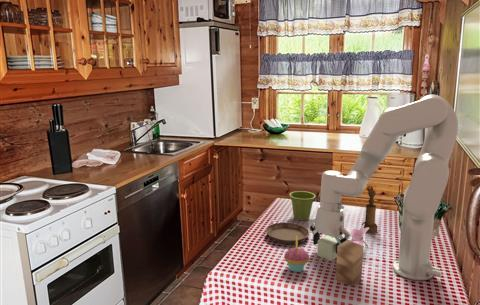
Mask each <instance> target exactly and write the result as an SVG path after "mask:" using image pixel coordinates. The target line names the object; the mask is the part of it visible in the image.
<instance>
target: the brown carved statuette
mask: <svg viewBox="0 0 480 305" xmlns="http://www.w3.org/2000/svg"><path fill="white" fill-rule="evenodd" d="M376 194H377V192H376V191H375V190H374V189H369V190H368V192H367V195H368V197H369V199H368V204H366V205H365V206H366V207H365V216H364V217H365V218H364V221H363V222H362V223H361V226H362V225H363V224H364V223H365V224H364V228H369V229H368V230H367V231H366V233H368V234H374V233H375V234H376V233H377V232H378V229H379V228H378V227H379V226H378V224H377V223H375V222H376V212H377V211H376V210H377V205H375V204H374V203H375V200H374V198H375V197H376Z"/></svg>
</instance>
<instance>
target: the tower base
mask: <svg viewBox="0 0 480 305" xmlns="http://www.w3.org/2000/svg"><path fill="white" fill-rule="evenodd" d="M335 267H336V270H335V280H336V281H338V282H341V283H343V284H345V285H347V286H351V287H353V286H355V285H356V284H357V283H358V282H360V281H361V280H362V274H363V263H361V264H360V265H359V266H357V267H356V268H354V269H351V268H349V267H346V266H344V265H341V264H338V263H337V262H336V266H335Z"/></svg>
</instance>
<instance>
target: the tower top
mask: <svg viewBox="0 0 480 305" xmlns="http://www.w3.org/2000/svg"><path fill="white" fill-rule="evenodd" d="M364 247H365V246H364V244H363V245H360V244H358V243H354V242H351V241H350V240H349V239H348V240H346V241H345V242H343V243H341V244H340V245H338V246H337V257H336V264H337V263H338V264H341V265H344V266H346V267H349V268H351V269H354V268H356V267H357V266H359V265H360V264H361V263H362V264H363V263H364V262H363V260H364V249H365V248H364Z"/></svg>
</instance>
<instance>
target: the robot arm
mask: <svg viewBox="0 0 480 305" xmlns="http://www.w3.org/2000/svg"><path fill="white" fill-rule="evenodd" d="M423 129H427V130H426V134H425V137H424V141H423V144H422V145H421V146H422V147H421V150H420V152H419V154H418V157H417V158H416V161H415V163H414V170H413V174H412V175H411V179H410V182H409V184H408V185H407V187H406V188H405V190H404V194H403V203H402V204H403V205H402V216H401V229H400V239H399V241H400V242H399V252H398V260H396V261H394V262H393V265H392V269H393V271H394V272H395V273H396V274H397V275H399V276H400V277H403V278H406V279H408V280H412V281H413V280H414V281H427V280H430V279H431V278H433V276H434V277H437V278H441V277H442V274H443V272H442V271H441V268H440V267H436V266H434V265H433V260H430V258H431V257H430V256H431V249H432V248H431V246H432V240H433V239H432V238H433V232H434V223H435V222H434V221H435V214H436V212H437V210H438V208H439V205H440V203H441V201H442V198H443V195H444V192H445V190H446V187H447V184H448V181H449V177H450V168H449V162H450V159H451V155H452V153H453V151H454V150H453V149H454V146H455V143H456V140H457V136H458V132H459V122H458V117H457V113H456V111H455V109H454V108H453V107H452V105H451V104H450V102H448V101H447V100H445V98H444V97H442V96H440V95H437V94H432V93H431V94H427V95H424V96H422V98H420V100H417V101H414V102H411V103H407V104H405V105H402V106H398V107H396V106H390V107H387V108H385V109H384V110H383V112H382V113H380V115H379V117H378V119H377V121H376V123H375V125H374V126H373V128H372V129H371V131H370V133H369V134H368V136H367V138H366V139H365V141H364V142H363V144H362V146H361V150H360V152H359V155H358V157H357V158H356V160H355V162H354V164H353V165H352V166H351V168H350V170H349V172H347V174H346V175H344V174H343V173H342V172H340V171H338V170H332V169H331V170H325V171H322V174H321V184H320V195H319V205H318V207H317V211H316V214H315V218H313V219H310V220H307V221H308V225H309V229H310V230H311V234H312V235H313V236H312V241H313V244H312V245H314V246H316V245H318V240H320V239H321V234H323V235H325V236H329V237H332V238H335V239H336V240H337V242H338V243H337V244H336V254H337V246H338V245H340V244H341V243H343V242H345V241H346V240H348V241H349V239H350V237H351V232H349V231H348V230H347V229H346V228H345V216H344V208H345V206H344V205H343V204H342V203H343V202H342V200H343V198H342V197H343V196H344V197H349V198H352V199H353V198H354V199H355V198H358V197H360V196H362V194H363V192H364V191H365V188H366V186H367V184H368V182H369V181H370V179H371V177H372V176H373V174H375V171H376V170H377V168H378V167H379V166H380V164H382V162H383V161H385V159H386V158H387V157H388V155H389V154H390V152H391V151H392V149H393V148H394V146H395V144H396V143H397V141H398V139H400V137H401V136H402V135H406V134H410V133H414V132H417V131H421V130H423ZM343 235H344V237H343Z"/></svg>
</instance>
